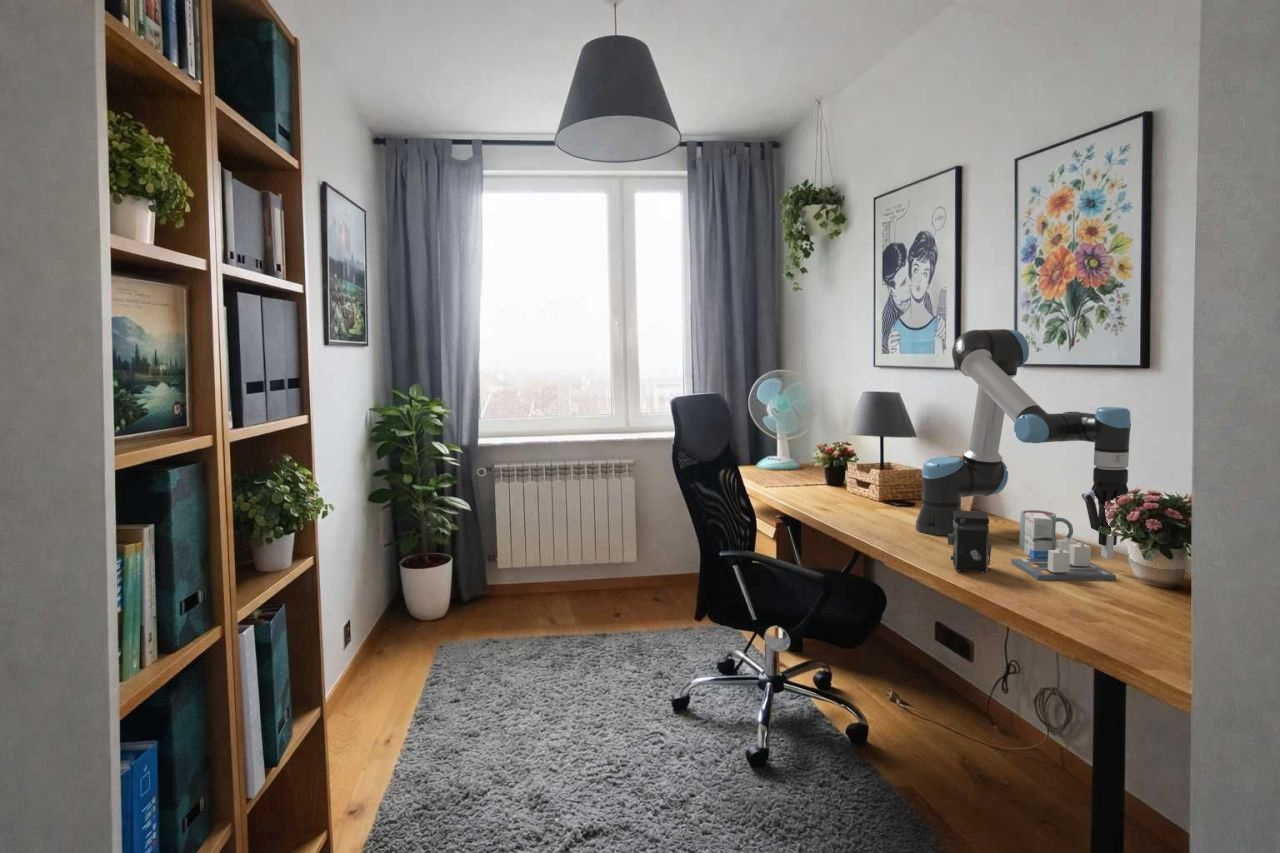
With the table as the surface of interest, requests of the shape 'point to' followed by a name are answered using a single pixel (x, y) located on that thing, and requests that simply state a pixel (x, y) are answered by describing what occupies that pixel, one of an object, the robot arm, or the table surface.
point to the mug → (1054, 520)
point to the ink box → (1038, 535)
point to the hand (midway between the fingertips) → (1106, 557)
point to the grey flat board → (1041, 572)
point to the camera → (970, 541)
